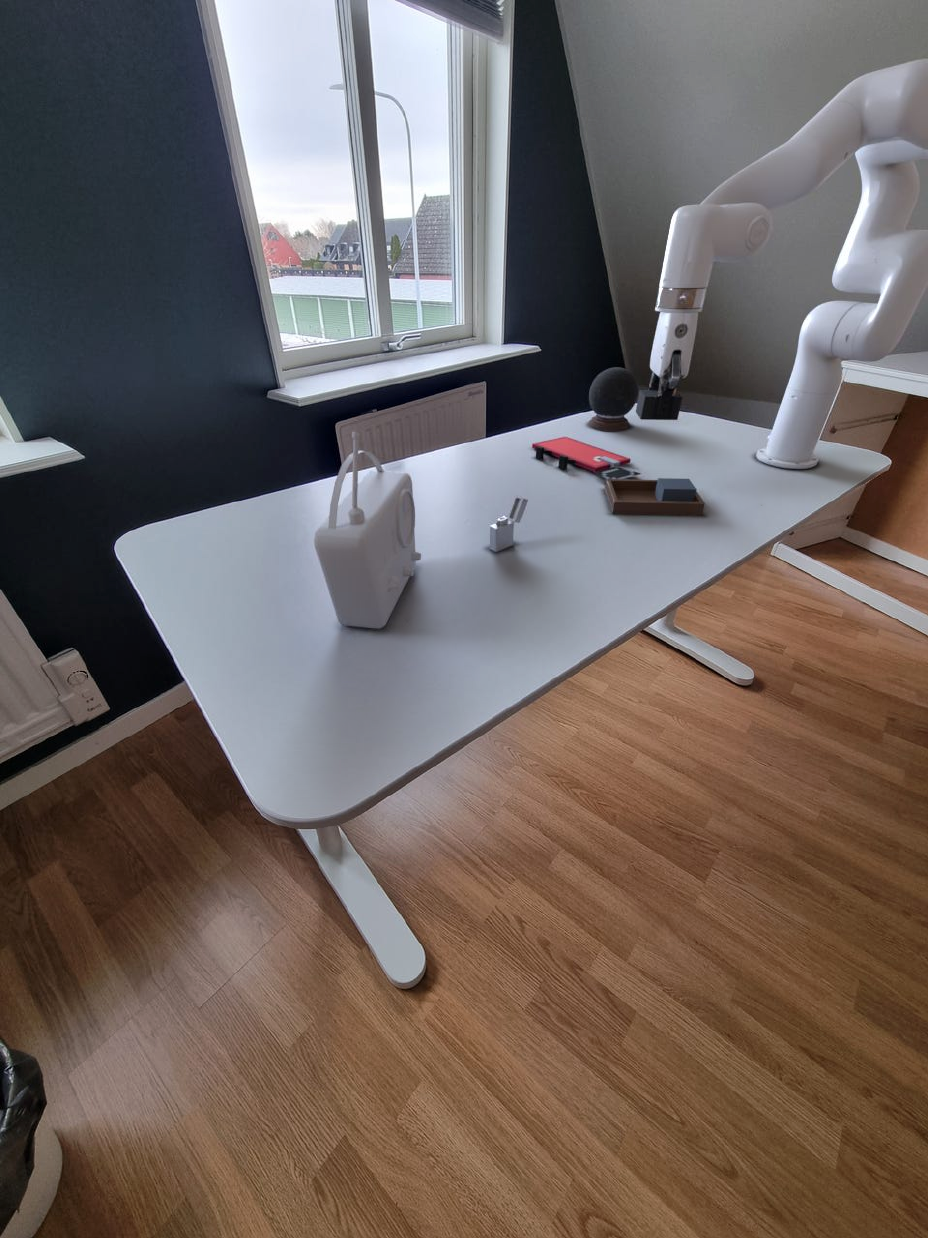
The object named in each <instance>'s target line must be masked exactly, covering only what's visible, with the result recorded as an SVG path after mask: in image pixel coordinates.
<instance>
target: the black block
mask: <svg viewBox="0 0 928 1238" xmlns="http://www.w3.org/2000/svg"><path fill="white" fill-rule="evenodd" d="M656 395H658V390H648V389H639V392H638V398H637V401H636V406H635V407H636V408H635V413H636V414H637V416H638V418H639V419H640V420H641V421H642V420H644V421H648V420H649V421H651V420H652V421H678V420H679V419H678V418H679V416H680V415H679V414H680V411H681V406H682V403H683V395H681V393H679V392H678V391H677V390H676V393H675V397H674V401H673V406H672V410H671V414H670V418H669V419H652V417H651V416H652V411H653V406H654V401H655V396H656Z"/></svg>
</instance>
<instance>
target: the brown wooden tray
mask: <svg viewBox="0 0 928 1238" xmlns="http://www.w3.org/2000/svg"><path fill="white" fill-rule="evenodd" d="M657 481H658V479H629V478H625V479H606V478H605V485H604V493H605V496H606V499H607V502H608V505H609V508H610V512H611V514H612V515H642V516H643V515H645V516H647V515H649V516H685V517H687V516H689V517H690V516H693V517H694V516H695V517H702V516H703V512H704V510H705V505H706V503H705V501H704V499H703V498H702V496H701V495H700V494H699V492H698V491H697V490H696V494H695V498H694V501H693V502H677V501H657V499H656V497H655V495H654V494H655V490H656V485H657Z"/></svg>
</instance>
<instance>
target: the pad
mask: <svg viewBox="0 0 928 1238" xmlns="http://www.w3.org/2000/svg"><path fill="white" fill-rule="evenodd" d="M657 480H658V481H657V485H656V490H655V494H654V495H655V497H656V499H657V501H677V502H693V501H694V498H695V494H696V491H697V490H698V489H697V488H696V486H695V485H694V483H693V482H692V481H691V479H690V478H672V477H671V478H670V477H669V478H664V477H662V478H661V477H658V478H657Z"/></svg>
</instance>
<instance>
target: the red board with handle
mask: <svg viewBox="0 0 928 1238" xmlns="http://www.w3.org/2000/svg"><path fill="white" fill-rule="evenodd" d="M531 448H533V449H535V459H537V460H539V461H542V460H545V459H544V457H545V455H547V456H548V455H549V456H553V457H555V458H558V466H557V467H558V468H559V469H561V470H567V469H568V464H569V465H576V466H578V467H581V468H583V469H586V470H588V471H591V472H592V474H594V475H595V476H598V477H602V478H604V479H605V480H606V479H629V478H631V477H635V476H639V475H642V473H641V472H639V471H635V470H632V469H629V468H627V467H624V466H623V465H627V464H631V460H632V459H631V458H629V457H626V456H623V455H620V454H617V453H614V452H612V451H609V450H606V449H603V448H600V447H597V446H594V445H591V444H589V443H585V442H582V441H579V440H577V439H573V438H571V437H568V436H563V437H557V438H554V439H553V438H552V439H549V440H544V441H538V442H535V443H532V445H531Z"/></svg>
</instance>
